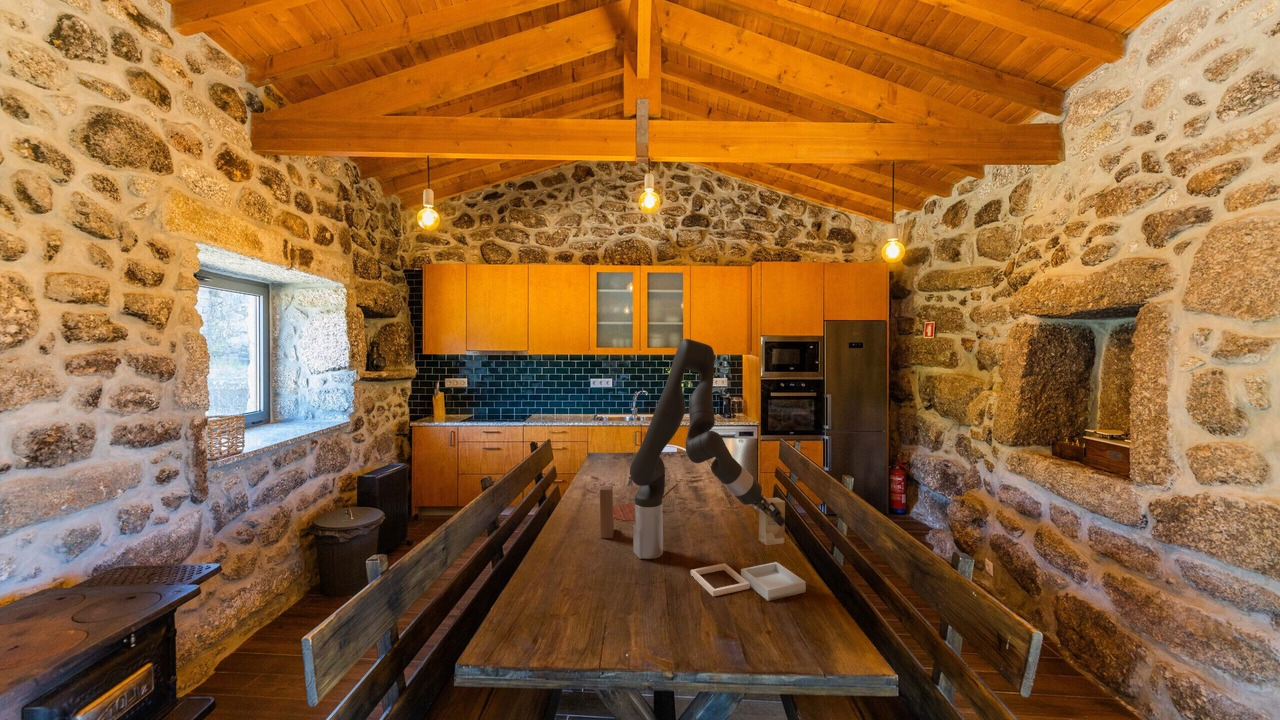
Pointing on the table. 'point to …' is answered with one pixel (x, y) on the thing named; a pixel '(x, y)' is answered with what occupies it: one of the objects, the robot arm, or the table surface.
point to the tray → (773, 581)
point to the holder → (722, 590)
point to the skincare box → (771, 525)
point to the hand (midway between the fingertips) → (777, 520)
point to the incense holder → (627, 510)
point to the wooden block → (606, 512)
